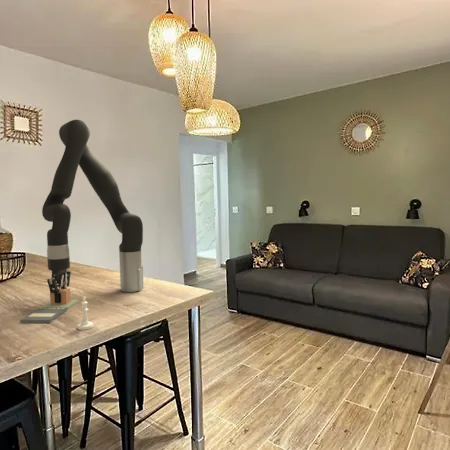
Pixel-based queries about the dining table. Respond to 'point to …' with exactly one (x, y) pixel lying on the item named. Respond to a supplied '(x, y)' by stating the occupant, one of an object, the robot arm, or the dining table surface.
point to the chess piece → (84, 317)
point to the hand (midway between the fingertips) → (60, 300)
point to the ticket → (43, 315)
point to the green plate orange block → (65, 300)
